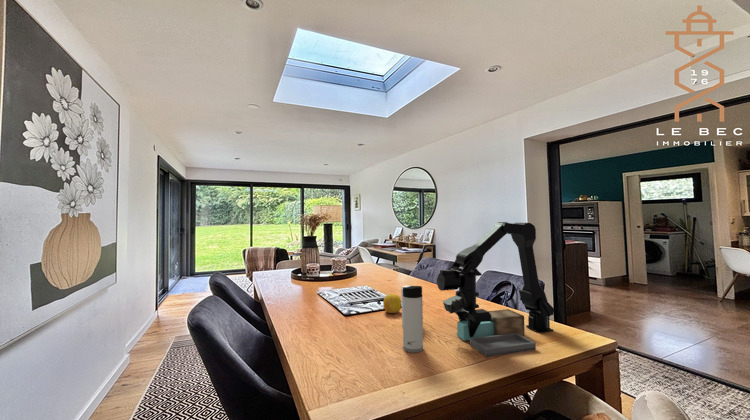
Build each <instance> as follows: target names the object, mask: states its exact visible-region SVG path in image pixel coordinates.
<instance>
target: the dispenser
mask: <svg viewBox="0 0 750 420" xmlns="http://www.w3.org/2000/svg"><path fill="white" fill-rule="evenodd" d="M488 312H489V313H490V314H491V321H493V322H494V328H495V335H502V334H510V333H518V334H519V335H521V336H523V337H526V336H525V334H526V333H525V332H526V331H525V315H523V314H521V313H519V312H517V311H514V310H511V309H498V310H497V309H496V310H489V311H488Z"/></svg>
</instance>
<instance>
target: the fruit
mask: <svg viewBox="0 0 750 420" xmlns="http://www.w3.org/2000/svg"><path fill="white" fill-rule="evenodd" d="M382 304H383V308H384V310H385V312H387V313H389V314H396V313H399V312H400V311H401V310H402V298H401V297H400V296H399V295H398V294H396V293H389V294H386V295H385V297H383V303H382Z"/></svg>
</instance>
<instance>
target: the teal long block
mask: <svg viewBox="0 0 750 420" xmlns="http://www.w3.org/2000/svg"><path fill="white" fill-rule="evenodd" d="M456 323H457V324H456V325H457V327H456V329H457V332H456V334H457V337H458V338H460V340H462V341H470V338H478V337H486V336H494V335H495V328H494V322H493V321H487V322H481V323H480V325H479V326H478V328H477V330H476V332H475V334H474V336H473V337H470V335H469V327H468V321H459V320H458V321H457V322H456Z"/></svg>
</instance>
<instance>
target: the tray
mask: <svg viewBox="0 0 750 420" xmlns="http://www.w3.org/2000/svg"><path fill="white" fill-rule="evenodd" d="M469 344H470V345H469V346H470V347H472V348H473V349H475V350H476V351H477V352H479V353H480V354H481V355H483V356H485V357H486V358H489V357H497V356H502V355H512V354H517V353H525V352H532V351H536V350H537V347H536V346H537V345H536V342H535V341H533V340H531V339H529V338H527V337H526V336H521V335H519V334H518V333H510V334H502V335H494V336H486V337H478V338H470V340H469Z"/></svg>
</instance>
